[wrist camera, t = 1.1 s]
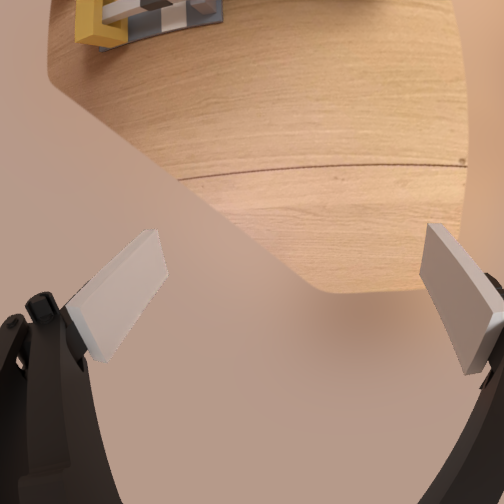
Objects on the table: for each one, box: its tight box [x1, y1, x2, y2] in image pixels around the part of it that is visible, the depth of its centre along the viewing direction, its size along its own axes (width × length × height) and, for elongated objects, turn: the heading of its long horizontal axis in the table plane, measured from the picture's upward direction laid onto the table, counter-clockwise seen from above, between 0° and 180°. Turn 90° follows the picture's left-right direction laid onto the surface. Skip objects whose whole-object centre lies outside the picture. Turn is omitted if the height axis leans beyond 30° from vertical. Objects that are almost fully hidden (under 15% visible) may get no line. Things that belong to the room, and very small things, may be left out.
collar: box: [75, 0, 128, 48], centre depth 26 cm, size 8×3×8 cm, turn 3°
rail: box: [99, 0, 223, 52], centre depth 27 cm, size 7×19×7 cm, turn 93°
